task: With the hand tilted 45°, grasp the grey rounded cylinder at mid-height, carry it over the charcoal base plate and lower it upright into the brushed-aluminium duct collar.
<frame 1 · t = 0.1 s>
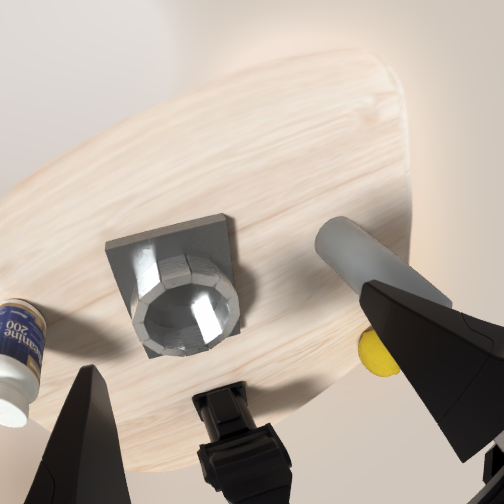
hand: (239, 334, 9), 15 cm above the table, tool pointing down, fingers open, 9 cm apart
pill bottle: (21, 319, 21), on the table
lemon: (363, 332, 40), on the table
duct plate: (178, 290, 25), on the table
grey rounded cylinder: (335, 238, 29), on the table
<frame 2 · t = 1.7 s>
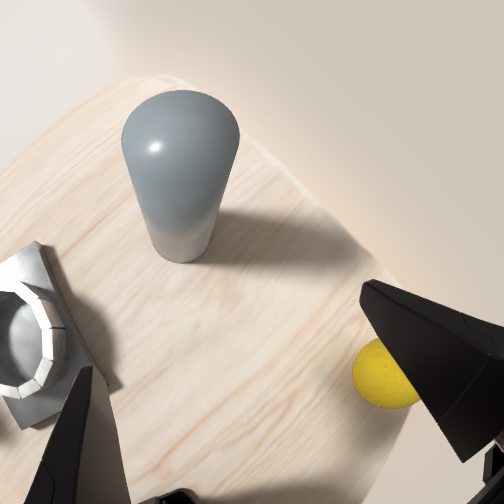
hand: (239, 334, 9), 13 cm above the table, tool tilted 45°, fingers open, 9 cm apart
lemon: (362, 367, 24), on the table
duct plate: (27, 338, 19), on the table
grey rounded cylinder: (180, 233, 23), on the table
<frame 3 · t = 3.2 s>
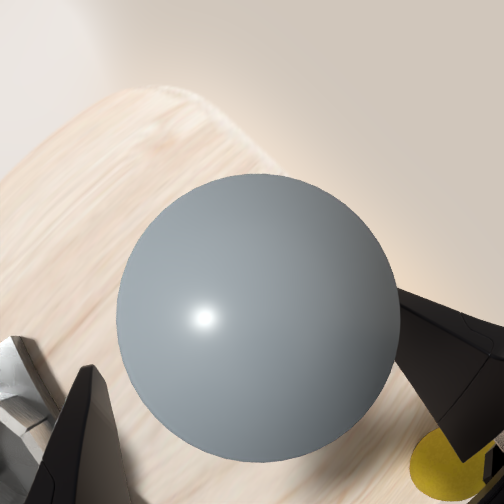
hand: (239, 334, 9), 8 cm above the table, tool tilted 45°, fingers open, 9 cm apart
lemon: (415, 449, 17), on the table
duct plate: (23, 449, 12), on the table
grey rounded cylinder: (208, 326, 17), on the table
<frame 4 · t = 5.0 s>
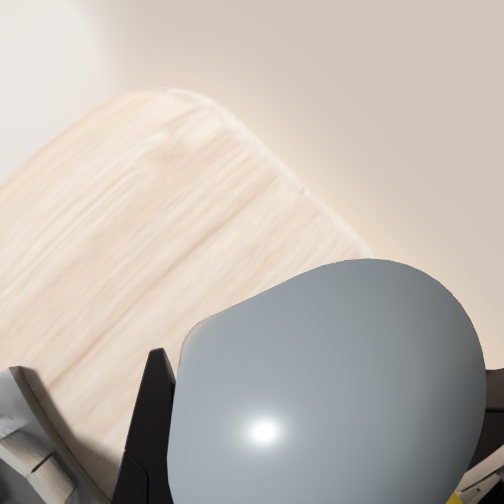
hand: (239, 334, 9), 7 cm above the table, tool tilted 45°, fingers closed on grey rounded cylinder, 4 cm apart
duct plate: (27, 479, 10), on the table
grey rounded cylinder: (224, 358, 15), on the table, touching gripper
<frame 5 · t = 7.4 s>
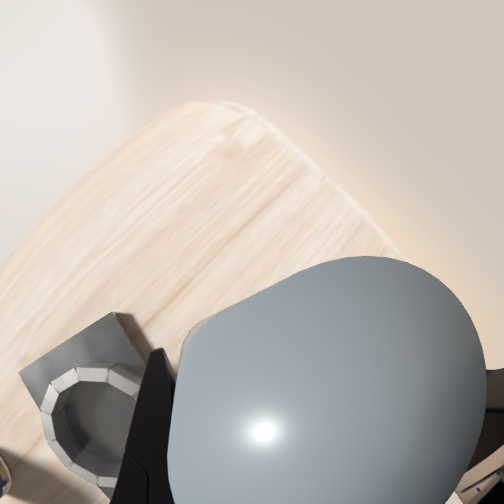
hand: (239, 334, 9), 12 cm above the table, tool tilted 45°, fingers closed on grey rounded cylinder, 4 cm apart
duct plate: (112, 416, 18), on the table
grey rounded cylinder: (225, 358, 15), point 6 cm above the table, touching gripper
when the fingers open (9 cm above the table, at t = 10.3 s): grey rounded cylinder drops 1 cm, resting on duct plate.
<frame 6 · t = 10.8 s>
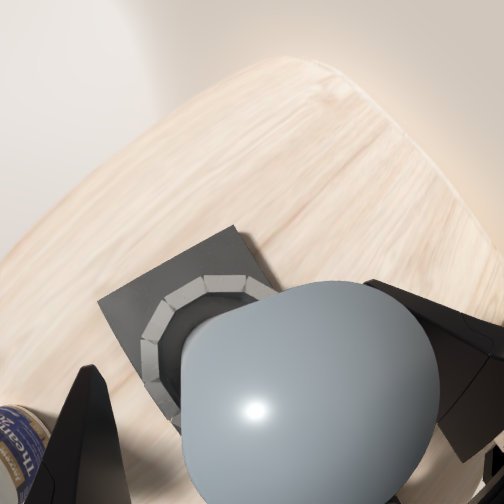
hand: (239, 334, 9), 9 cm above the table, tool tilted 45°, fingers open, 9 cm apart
pill bottle: (25, 439, 13), on the table
duct plate: (219, 354, 17), on the table
grey rounded cylinder: (222, 356, 16), point 1 cm above the table, touching duct plate
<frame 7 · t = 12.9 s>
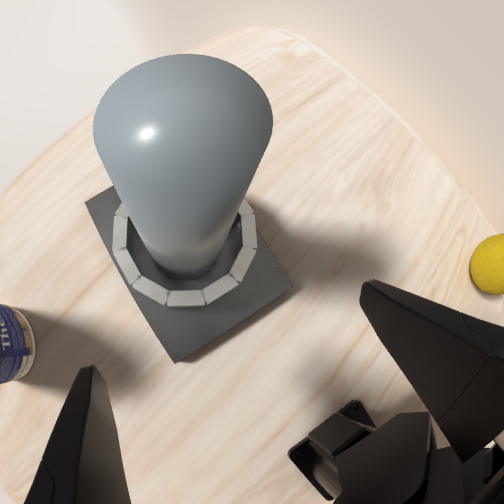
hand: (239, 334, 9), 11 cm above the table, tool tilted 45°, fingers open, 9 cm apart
pill bottle: (10, 342, 16), on the table
lemon: (469, 272, 26), on the table
duct plate: (184, 247, 20), on the table
grey rounded cylinder: (184, 243, 19), point 1 cm above the table, touching duct plate
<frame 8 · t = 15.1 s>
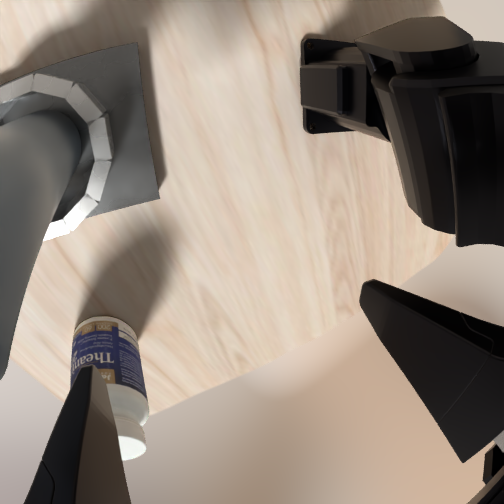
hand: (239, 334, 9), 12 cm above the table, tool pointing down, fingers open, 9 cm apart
pill bottle: (104, 337, 22), on the table
duct plate: (47, 146, 14), on the table
grey rounded cylinder: (43, 150, 13), point 1 cm above the table, touching duct plate
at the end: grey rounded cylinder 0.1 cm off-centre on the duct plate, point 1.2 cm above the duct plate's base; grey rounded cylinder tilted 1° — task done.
